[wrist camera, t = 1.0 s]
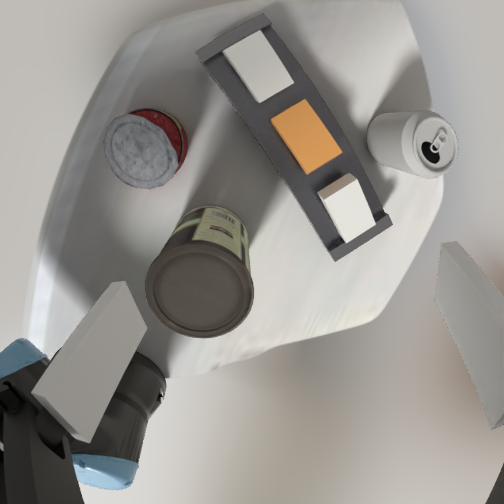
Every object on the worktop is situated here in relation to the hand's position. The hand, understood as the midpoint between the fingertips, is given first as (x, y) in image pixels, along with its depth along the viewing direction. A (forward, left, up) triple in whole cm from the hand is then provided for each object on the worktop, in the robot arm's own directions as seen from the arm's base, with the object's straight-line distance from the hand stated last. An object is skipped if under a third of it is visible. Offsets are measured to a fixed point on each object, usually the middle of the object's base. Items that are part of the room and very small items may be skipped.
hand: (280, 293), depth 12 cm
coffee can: (-9, -4, -29) cm, 30 cm away
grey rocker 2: (+8, +11, -23) cm, 27 cm away
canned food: (-8, +11, -29) cm, 32 cm away
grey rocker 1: (+8, -8, -23) cm, 26 cm away
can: (+19, -5, -29) cm, 35 cm away
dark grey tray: (+8, +2, -28) cm, 30 cm away
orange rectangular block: (+8, +2, -23) cm, 24 cm away
